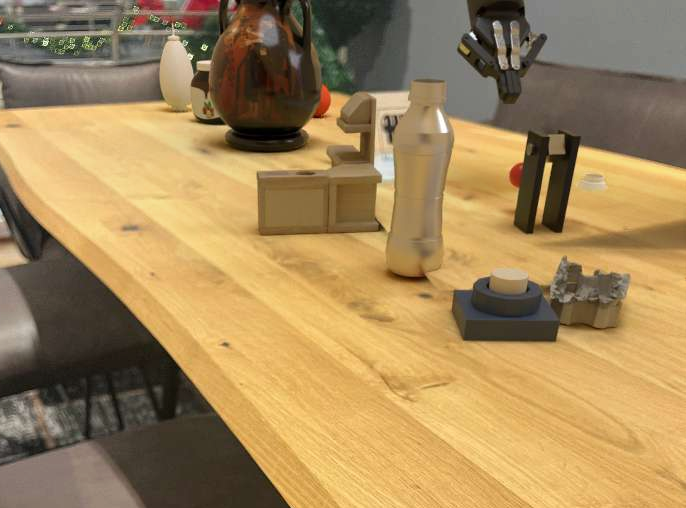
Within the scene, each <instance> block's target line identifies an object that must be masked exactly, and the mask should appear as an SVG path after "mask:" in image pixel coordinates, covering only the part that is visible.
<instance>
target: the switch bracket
mask: <svg viewBox="0 0 686 508" xmlns="http://www.w3.org/2000/svg"><path fill="white" fill-rule="evenodd" d="M557 134H564V137H565V155H564V156H562V157H561V158H560V159H559V160H558V161H556V162H555V163H551V168H550V173H549V178H548V184H547V190H546V195H545V201H544V205H543V211H542V217H541V225H543V226H544V227H545V228H547V229H548V230H550V231H551V232H553V233H554V234H562V233H563V229H564V225H565V218H566V216H567V215H566V214H567V210H568V209H567V208H568V204H569V199H570V195H571V189H572V185H573V179H574V173H575V168H576V164H577V159H578V155H579V149H580V144H581V138H582V135H579V134H578V133H575V132H573V131H570V130H567V129H558V130H557ZM547 135H548V134H545V133H543V132H540V131H538V130H536V129H529V130H528V131H527V137H526V144H525V151H524V155H523V168H522V174H521V180H520V186H519V188H518V193H517V199H516V205H515V210H514V211H515V212H514V217H513V226H514V227H516V228H517V229H519V230H520V231H521V232H522V233H523V234H525V235H533V234H534V232H535V231H534V230H535V224H536V219H537V215H538V214H537V213H538V208H539V202H540V197H541V190H542V184H543V180H544V173H545V169H546V164H547V163H546V157H547V151H548V146H549V140H550V137H549V136H547Z"/></svg>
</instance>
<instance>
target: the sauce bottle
mask: <svg viewBox="0 0 686 508" xmlns="http://www.w3.org/2000/svg"><path fill="white" fill-rule="evenodd" d="M171 34H172V35H168V36H167V42H166V43H165V45H164V48H163V50H162V54H161V58H160V61H159V62H160V63H159V71H158V72H159V87H160V91H161V94H162V97H163V99H164V101H165V103H166V104H167V105H168V106H170V107H171V109H172V110H175V112H178V113H180V112H181V113H183V112H184V111H185V110H187V109H188V106H190V105H191V92H190V85H191V81H192V78H193V77H194V75H195V74H194V70H193V66H192V62H191V59H190V56H189V54H188V51H187V50H186V48H185V46H184V44H183V43H182V42H181V41H180V40H181V38H180V36H179V35H175V26H174V23H173V22H171Z"/></svg>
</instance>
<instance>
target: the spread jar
mask: <svg viewBox="0 0 686 508" xmlns="http://www.w3.org/2000/svg"><path fill="white" fill-rule="evenodd" d="M210 63H211V60H210V59H209V60H199V61H196V70H197V71H196V73H195V74H194V77H193V78H192V81H191V85H190V92H191V104H190V105H191V110H192V114H193V116H194V117H195V118H196V120H197V121H199V123H201V124H204V125H226V124H225V122H224V121H223V120H222V119H221V118H220V116H219V115H218V113H217V112H216V110H215V108H214V106H213V103H212V100H211V98H210V92H209V82H208V81H209V70H210Z"/></svg>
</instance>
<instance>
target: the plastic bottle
mask: <svg viewBox="0 0 686 508" xmlns="http://www.w3.org/2000/svg"><path fill="white" fill-rule="evenodd" d="M409 83H410V84H409V94H408V96H407V101H409V102H410V104H409V107H408V108H407V110H406V111H405V112H404V114H403V115H402V116H401V117H400V119H399V121H398V122H397V124H396V125H395V127H394V129H393V132H392V136H391V138H392V143H391V145H392V160H393V170H394V171H393V173H394V176H393V177H394V178H393V179H394V183H393V186H394V193H393V206H392V214H391V221H390V228H389V229H390V230H389V232H388V235H387V239H386V245H385V250H384V252H385V260H386V261H385V262H386V265H387V267H388V269H389V270H390V272H392V273H394V274H395V275H399V276H403V277H408V278H409V277H410V278H424V277H427V275H426V273H430V272H434V271H437V270H438V269H440V268H441V267H442V266H441V265H442V263H443V262H442V261H443V258H444V254H445V252H444V250H445V249H444V248H445V247H444V236H443V207H444V205H443V204H444V196H445V194H444V191H445V189H446V184H447V175H448V171H449V168H450V167H449V166H450V164H451V163H450V162H451V158H452V154H453V149H454V144H455V140H456V139H455V133H454V128H453V126H452V123H451V121H450V119H449V116H448V115H447V113H446V112H445V109H444V103H446V102H447V87H448V81H447V80H444V79H436V78H415V79H411V80H410V82H409Z"/></svg>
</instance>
